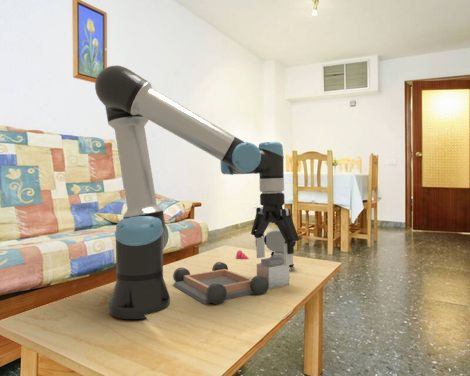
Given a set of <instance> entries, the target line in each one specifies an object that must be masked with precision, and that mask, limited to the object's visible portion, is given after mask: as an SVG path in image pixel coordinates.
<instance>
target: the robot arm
mask: <svg viewBox="0 0 470 376" xmlns="http://www.w3.org/2000/svg"><path fill="white" fill-rule="evenodd" d="M94 82H95V83H94V87H95V88H94V90H95V93H96V96H97V98H98V99H99V101H100V102H101V103H102V104H103V105H104V107H105V113H106V118H107V124H108V126H109V127H111V128H112V129H113V130H114V134H115V141H116V146H117V152H118V158H119V165H120V170H121V171H120V172H121V178H122V183H123V190H124V195H125V202H126V211H125V213H124V214H123V215H122V217H123V218H122V219H120V220H119V221H118V222H117V224H116V227H115V233H114V235H115V257H116V259H115V263H116V265H115V267H116V269H115V270H116V282H115V285H114V288H113V291H112V294H111V298H110V301H109V314H110V315H111V316H112V317H114V318H118V319H124V320H137V319H138V320H139V319H146V318H147V316H146V315H151V314H152V315H153V314H155V313H159V312H161V311H164V310H165V309H168V307H169V306H170V305H171V297H170V293H169V291H168V288H167V285H166V282H165V280H164V258H163V257H164V253H163V252H164V249H165V248H166V246H167V244H168V241H169V236H170V234H169V229H168V227H167V225H166V221H165V215H164V209H163V208H161V207H160V206H159V205H158V204H157V198H156V197H157V196H156V193H155V192H156V191H155V186H154V185H155V184H154V179H153V178H154V177H153V172H152V167H151V161H150V154H149V148H148V142H147V136H146V135H147V134H146V129H145V127H146V125H147V124H148V122H149V121H150V122H152V123H153V124H155V125H157V126H159V127H161V128H162V129H165V130H166V131H168V132H170V133H171V134H173V135H175V136H177V137H178V138H180V139H182V140H184V141H186V142H187V143H189V144H191V145H193V146H195V147H196V148H198V149H200V150H201V151H204V152H205V153H207V154H209V155H210V156H212V157H214V158H215V159H218V160H219V161H220V162H219V163H220V164H219V165H220V171H221V174H223V175H229V176H234V175H248V174H249V175H251V174H255V175H256V174H258V175H259V192H260V194H259V204H260V205H261V207H256V208H255V209H256V210H255V213H256V214H255V216H254V221H253V224H252V228H251V231H250V235H251V236H254V238H255V249H256V258H257V259H264V258H265V257H266V256H265V255H266V254H265V252H266V251H265V250H266V249H265V242H264V237H265V231H267V228H268V227H269V225H270V224H274V225H276V226H277V229H279V230H280V232H281V234H282V236H283V238H284V239H285V242H284V265H285V266H287V265H292V264H294V252H295V250H294V247H295V246H294V242H295V241H296V242H299V240H300V238H299V235H298V232H297V229H296V227H295V224H294V221H293V218H292V214H291V209H290V208H283V206H284V205H285V204H286V203H285V194H284V191H285V177H284V176H285V175H284V157H285V156H284V148H283V144H282V143H281V142H280V141H279V142H278V141H265V142H260V143H259V144H258V146H257V145H255V143H252V142H247V141H246V142H245V141H244V140H242V139H240V138H239V137H237V136H235V135H233V134H231V133H230V132H229V131H227V130H224V129H223V128H221V127H220V126H218V125H216V124H214V123H212V122H211V121H209V120H207V119H206V118H204V117H202V116H201V115H199V114H197V113H195V112H194V111H192V110H191V109H188V108H187V107H185V106H183V105H181V104H179V103H178V102H176V101H175V100H173V99H171V98H170V97H168V96H166V95H164V94H163V93H161V92H159V91H158V90H155V89H154V88H153V86H152V84H151V82H149V81H148V80H147V79H145V78H143V77H141V76H140V75H138V74H137V73H135V72H133V71H132V70H130V69H129V68H127V67H125V66H122V65H109V66H107V67H105V68H103V69H102V70H101V71H100V72H99V73H98V74H97V77H96V79H95V81H94ZM263 234H264V235H263ZM293 236H294V237H293Z"/></svg>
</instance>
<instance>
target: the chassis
mask: <svg viewBox="0 0 470 376" xmlns="http://www.w3.org/2000/svg"><path fill="white" fill-rule="evenodd" d="M172 277H173V281H174V282H173V286H174V287H175V288H176V289H178V290H180V291H182V292H183V293H185V294H187V295H188V296H189V297H192V298H194V299H195V300H197V302H200V303H201V304H203V305H208V304H214V305H220V304H222V303H223V302H224V301H226V300H231V299H235V298H241V297H245V296H250V295H254V294H256V295H259V296H261V295H264V294H265V293H267V291H268V290H269V289H268V280H267V279H266V278H265V277H263V276H260V275H257V274H256V275H255V276H253V277H252V278H251V277H248V276H245V275H243V274H239V273H237V272H234V271H232V270H229V268H228V265H227V264H226V263H225V262H222V261H218V262H216V263H214V264H213V266H212V269H211V271H204V272H200V273H199V272H198V273H193V274H192V273H191V272H190V271H189V269H187V268H185V267H177V268H176V269H175V270H174V271H173V275H172Z"/></svg>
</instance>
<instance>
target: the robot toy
mask: <svg viewBox="0 0 470 376" xmlns="http://www.w3.org/2000/svg"><path fill="white" fill-rule="evenodd" d="M263 235H264V236H263V237H264V246H266V248H267V249H268V250H269V251H271V253H270V255H271V256H270V257H269V258H273V257H278V258H282V259H284V242H285V239H284V238H283V236H282V234H281V232H280V230H279V228H276V229H272V230H269V231H268V232H266V235H265V233H264V234H263ZM293 237H294V236H293ZM296 243H297V241H295V242H294V247H295V246H296V245H297V244H296ZM295 270H296V267H295V264H294V263H293V264H292V265H289V271H290V272H294V271H295Z"/></svg>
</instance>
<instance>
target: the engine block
mask: <svg viewBox="0 0 470 376" xmlns="http://www.w3.org/2000/svg"><path fill="white" fill-rule="evenodd" d="M257 275H260V276H263V277H265V278H266V279H267V280H268V289H267V290H272V289H277V288H282V287H285V286H290V267H289V265H287V266H285V265H284V259H282V258H278V257H273V258H270V257H266V258H260V263H256V276H257Z"/></svg>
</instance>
